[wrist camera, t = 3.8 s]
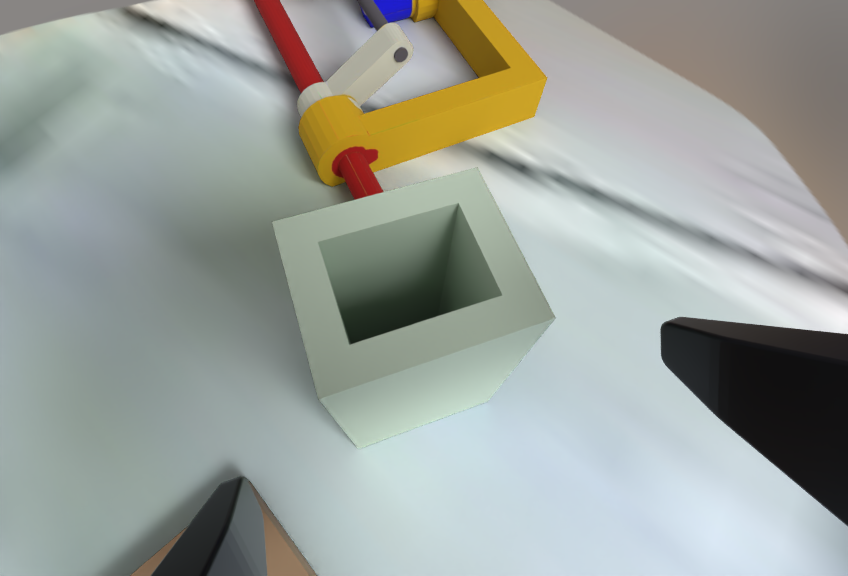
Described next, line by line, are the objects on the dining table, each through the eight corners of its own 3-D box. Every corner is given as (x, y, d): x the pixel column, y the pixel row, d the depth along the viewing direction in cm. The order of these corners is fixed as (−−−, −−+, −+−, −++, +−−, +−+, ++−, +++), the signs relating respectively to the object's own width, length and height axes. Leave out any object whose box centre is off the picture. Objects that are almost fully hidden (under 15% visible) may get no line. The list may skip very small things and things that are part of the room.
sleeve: (488, 401, 20) (555, 318, 11) (358, 449, 19) (318, 399, 10) (447, 304, 22) (477, 167, 13) (327, 342, 21) (271, 221, 12)
